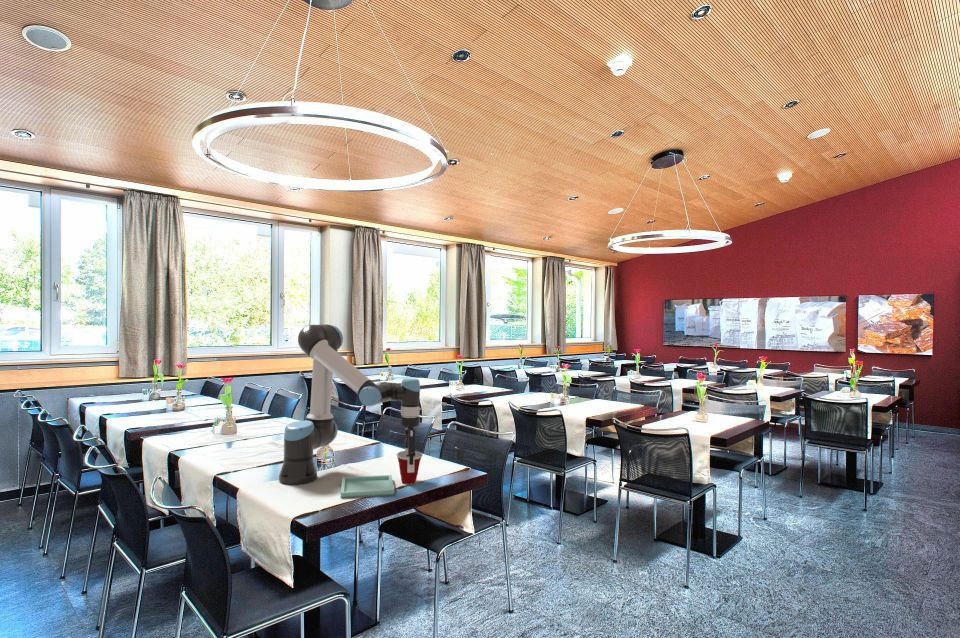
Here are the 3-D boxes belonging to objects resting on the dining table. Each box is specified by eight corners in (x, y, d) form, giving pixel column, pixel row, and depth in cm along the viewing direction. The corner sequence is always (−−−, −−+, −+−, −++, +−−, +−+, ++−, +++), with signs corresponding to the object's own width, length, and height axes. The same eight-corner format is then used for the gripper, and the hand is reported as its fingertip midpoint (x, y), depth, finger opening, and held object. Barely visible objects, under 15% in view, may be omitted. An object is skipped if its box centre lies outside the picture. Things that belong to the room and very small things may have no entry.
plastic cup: (400, 487, 212) (401, 458, 212) (392, 480, 221) (392, 451, 221) (426, 484, 217) (426, 455, 217) (416, 477, 226) (417, 449, 226)
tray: (340, 498, 198) (340, 492, 198) (342, 482, 218) (342, 477, 218) (394, 495, 203) (394, 489, 203) (391, 479, 222) (391, 474, 222)
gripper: (422, 421, 208) (421, 475, 208) (416, 410, 232) (415, 459, 232) (403, 422, 206) (402, 476, 206) (398, 411, 230) (397, 460, 230)
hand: (409, 467), depth 219 cm, fingers open, 12 cm apart
